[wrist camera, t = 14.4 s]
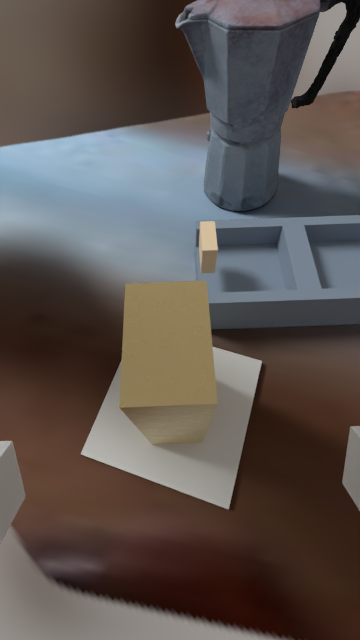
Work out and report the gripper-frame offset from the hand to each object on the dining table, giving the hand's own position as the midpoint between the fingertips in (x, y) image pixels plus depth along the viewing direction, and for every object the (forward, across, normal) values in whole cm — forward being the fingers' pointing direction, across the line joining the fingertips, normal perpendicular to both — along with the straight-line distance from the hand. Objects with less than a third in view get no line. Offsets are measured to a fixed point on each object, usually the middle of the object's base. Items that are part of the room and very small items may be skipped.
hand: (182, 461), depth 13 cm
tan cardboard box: (+13, 0, -6) cm, 14 cm away
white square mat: (+13, 0, -6) cm, 15 cm away
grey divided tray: (+22, +14, +2) cm, 26 cm away
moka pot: (+32, +8, +12) cm, 36 cm away
